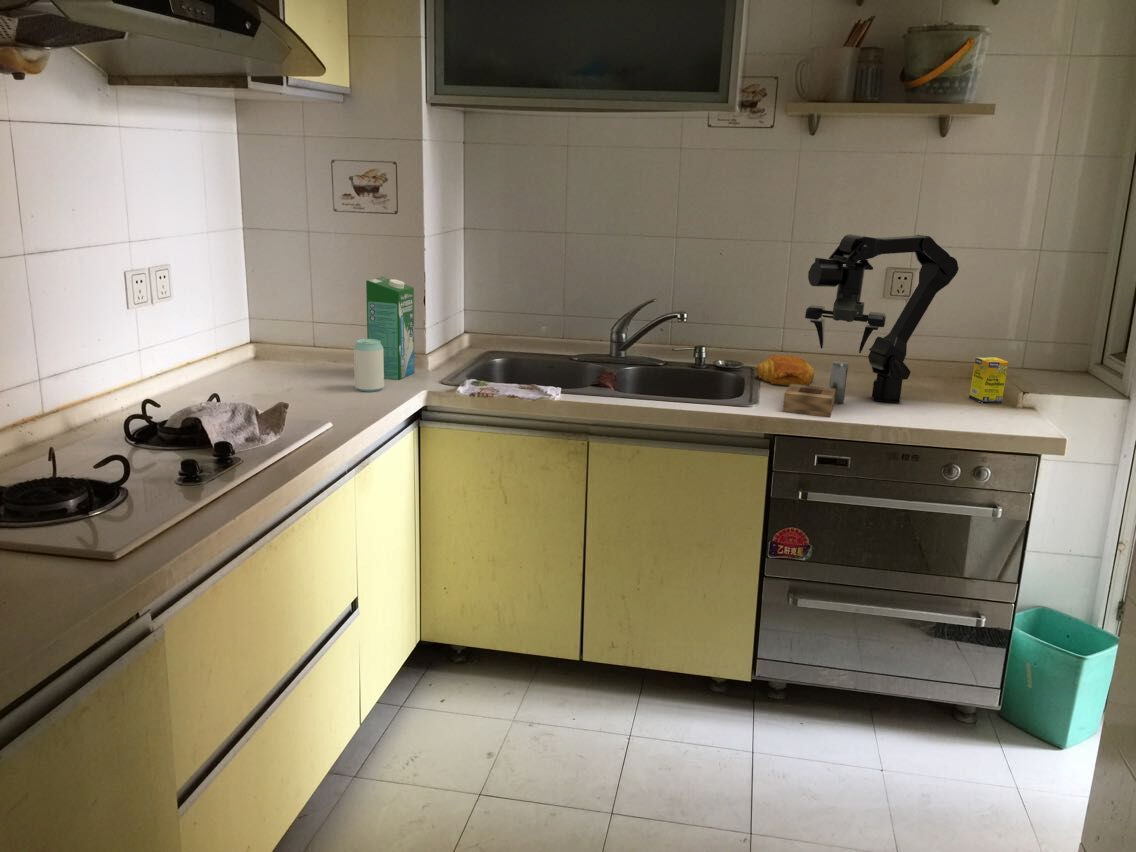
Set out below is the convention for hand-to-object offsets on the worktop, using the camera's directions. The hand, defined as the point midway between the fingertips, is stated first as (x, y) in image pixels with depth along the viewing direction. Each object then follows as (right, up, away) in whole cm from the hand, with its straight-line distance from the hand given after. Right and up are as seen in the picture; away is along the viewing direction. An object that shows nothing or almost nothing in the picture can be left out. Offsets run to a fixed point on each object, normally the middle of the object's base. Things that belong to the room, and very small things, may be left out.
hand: (840, 350), depth 237 cm
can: (-116, -10, -1) cm, 117 cm away
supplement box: (+41, -12, +11) cm, 44 cm away
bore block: (-9, -14, -4) cm, 18 cm away
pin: (0, -13, +3) cm, 13 cm away
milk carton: (-114, -5, +14) cm, 115 cm away
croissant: (-8, -7, +25) cm, 27 cm away
